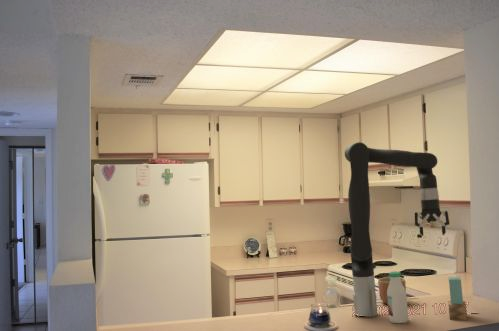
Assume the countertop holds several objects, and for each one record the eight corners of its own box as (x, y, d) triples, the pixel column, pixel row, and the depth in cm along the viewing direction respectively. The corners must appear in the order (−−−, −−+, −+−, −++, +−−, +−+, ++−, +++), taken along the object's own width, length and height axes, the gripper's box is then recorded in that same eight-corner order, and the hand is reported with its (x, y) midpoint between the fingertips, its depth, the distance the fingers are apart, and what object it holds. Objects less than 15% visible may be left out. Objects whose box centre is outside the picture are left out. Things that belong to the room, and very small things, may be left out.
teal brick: (451, 304, 200) (448, 279, 200) (450, 301, 204) (448, 277, 204) (463, 304, 198) (460, 279, 198) (462, 301, 202) (460, 277, 203)
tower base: (450, 319, 199) (448, 305, 199) (449, 315, 205) (448, 300, 205) (467, 320, 197) (466, 305, 197) (466, 315, 203) (464, 301, 203)
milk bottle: (410, 319, 203) (406, 270, 204) (406, 324, 197) (401, 274, 197) (391, 317, 207) (387, 270, 208) (386, 323, 201) (382, 273, 201)
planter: (410, 305, 223) (408, 281, 224) (383, 307, 224) (381, 283, 224) (402, 298, 236) (400, 276, 236) (377, 300, 236) (375, 277, 236)
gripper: (412, 199, 216) (415, 236, 215) (447, 197, 211) (450, 235, 210) (413, 198, 223) (416, 234, 222) (446, 196, 218) (450, 233, 217)
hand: (432, 235), depth 216 cm, fingers open, 8 cm apart
